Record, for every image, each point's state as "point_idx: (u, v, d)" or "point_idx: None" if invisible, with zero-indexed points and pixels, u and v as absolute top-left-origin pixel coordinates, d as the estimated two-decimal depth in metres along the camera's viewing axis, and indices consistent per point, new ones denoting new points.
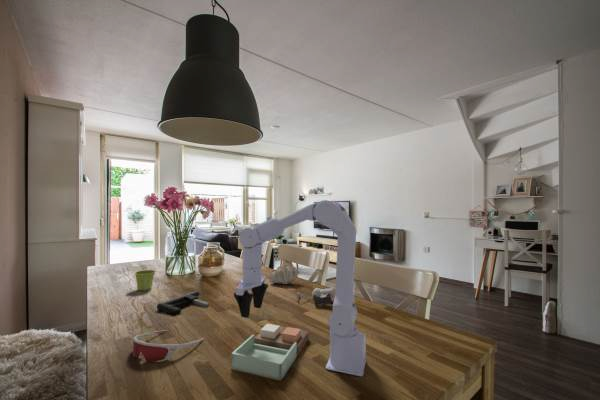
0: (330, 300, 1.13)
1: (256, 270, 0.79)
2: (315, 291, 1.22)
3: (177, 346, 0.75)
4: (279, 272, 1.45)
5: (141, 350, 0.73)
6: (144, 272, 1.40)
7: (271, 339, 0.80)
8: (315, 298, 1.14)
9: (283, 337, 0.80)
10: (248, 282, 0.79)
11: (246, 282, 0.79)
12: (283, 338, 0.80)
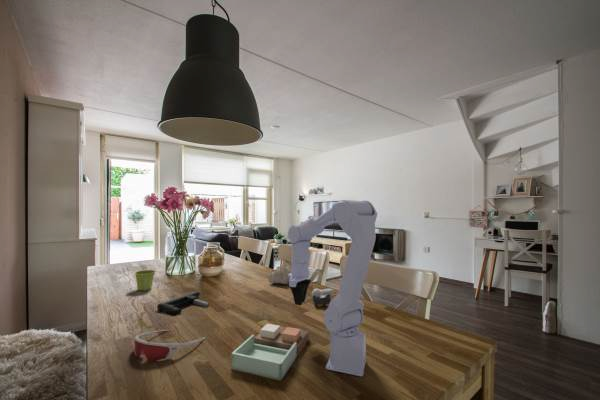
0: (329, 300, 1.12)
1: (305, 264, 0.86)
2: (314, 291, 1.21)
3: (178, 345, 0.75)
4: (278, 272, 1.45)
5: (142, 349, 0.73)
6: (144, 272, 1.40)
7: (271, 339, 0.80)
8: (314, 298, 1.13)
9: (283, 337, 0.80)
10: (298, 275, 0.86)
11: (296, 275, 0.86)
12: (283, 338, 0.80)
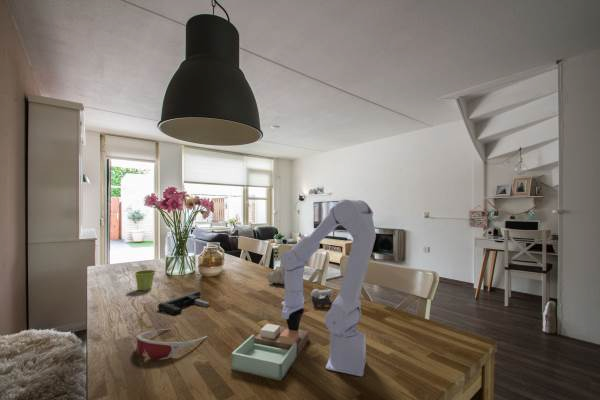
0: (328, 301, 1.12)
1: (299, 293, 0.81)
2: (314, 292, 1.20)
3: (180, 344, 0.76)
4: (277, 272, 1.45)
5: (145, 348, 0.74)
6: (144, 272, 1.40)
7: (271, 339, 0.80)
8: (313, 299, 1.13)
9: (281, 339, 0.78)
10: (291, 305, 0.80)
11: (289, 305, 0.80)
12: (281, 340, 0.78)
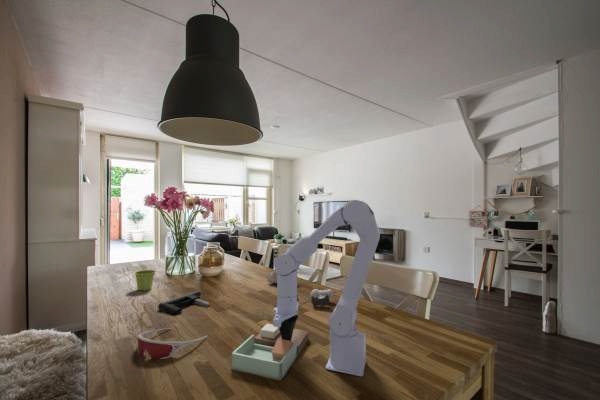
0: (328, 301, 1.11)
1: (292, 299, 0.76)
2: (313, 292, 1.20)
3: (181, 343, 0.76)
4: None
5: (146, 347, 0.74)
6: (144, 272, 1.40)
7: (271, 339, 0.80)
8: (313, 299, 1.12)
9: (274, 355, 0.73)
10: (284, 311, 0.75)
11: (282, 311, 0.75)
12: (274, 356, 0.73)
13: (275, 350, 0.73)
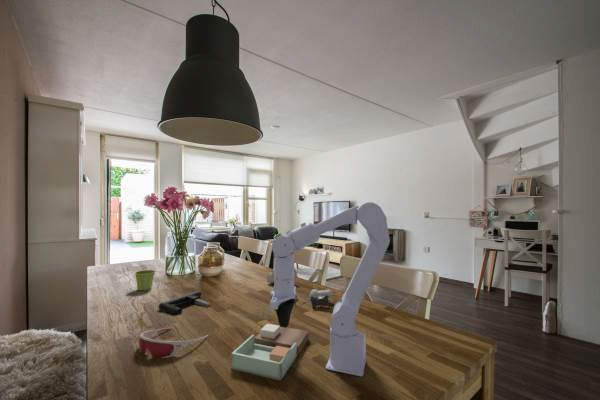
0: (327, 302, 1.11)
1: (289, 281, 0.74)
2: (312, 292, 1.20)
3: (182, 343, 0.77)
4: None
5: (147, 346, 0.75)
6: (144, 272, 1.40)
7: (271, 339, 0.80)
8: (312, 300, 1.12)
9: (271, 358, 0.72)
10: (281, 294, 0.73)
11: (279, 294, 0.73)
12: (271, 359, 0.72)
13: (273, 353, 0.72)
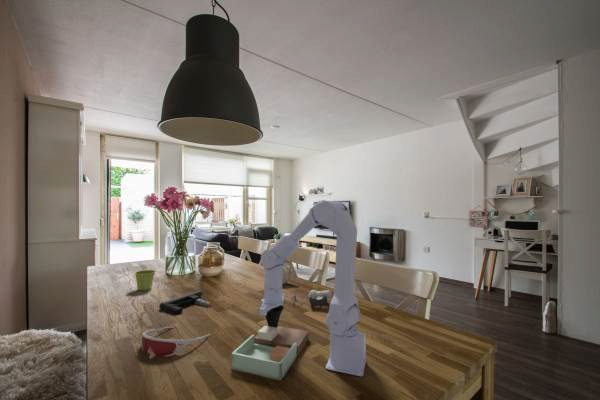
0: (326, 302, 1.10)
1: (278, 290, 0.83)
2: (311, 293, 1.19)
3: (185, 341, 0.78)
4: None
5: (150, 345, 0.76)
6: (144, 272, 1.40)
7: None
8: (311, 300, 1.11)
9: (271, 358, 0.72)
10: (270, 302, 0.83)
11: (268, 302, 0.83)
12: (271, 359, 0.72)
13: (273, 353, 0.72)
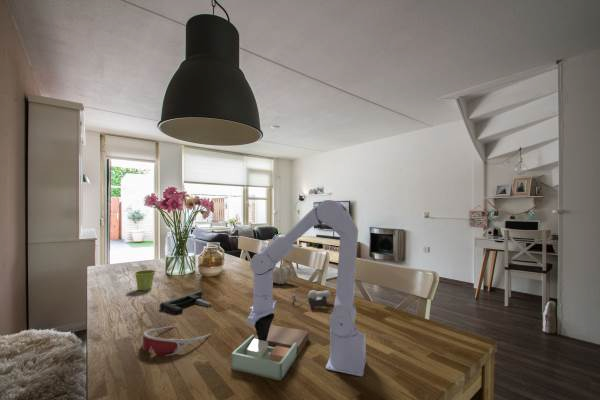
0: (326, 303, 1.10)
1: (267, 297, 0.77)
2: (311, 293, 1.19)
3: (186, 341, 0.78)
4: (275, 272, 1.45)
5: (151, 344, 0.76)
6: (143, 272, 1.40)
7: (271, 339, 0.80)
8: (310, 300, 1.11)
9: (271, 358, 0.72)
10: (259, 310, 0.76)
11: (257, 310, 0.76)
12: (271, 359, 0.72)
13: (273, 353, 0.72)
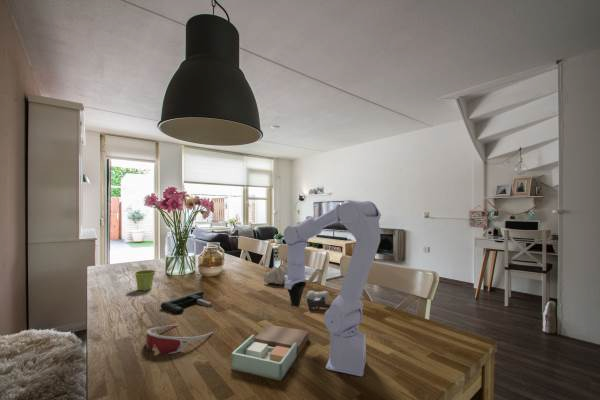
0: (324, 303, 1.09)
1: (301, 266, 0.84)
2: (309, 294, 1.18)
3: (188, 339, 0.79)
4: (273, 272, 1.45)
5: (155, 342, 0.77)
6: (144, 272, 1.40)
7: (271, 339, 0.80)
8: (308, 301, 1.10)
9: (271, 358, 0.72)
10: (293, 277, 0.84)
11: (292, 277, 0.84)
12: (271, 359, 0.72)
13: (273, 353, 0.72)
